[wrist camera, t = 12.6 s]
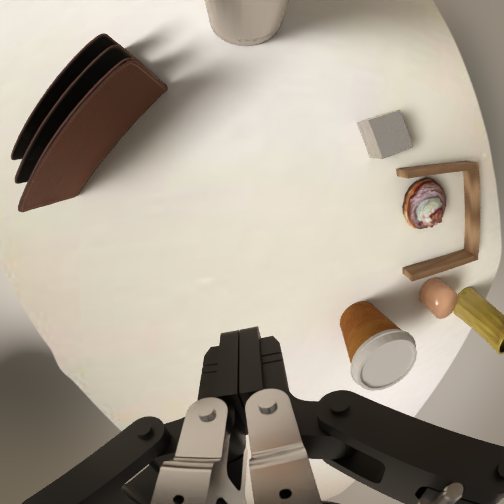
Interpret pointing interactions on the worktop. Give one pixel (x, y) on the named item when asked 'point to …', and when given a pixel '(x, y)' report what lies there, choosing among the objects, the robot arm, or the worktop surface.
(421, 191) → the pastry
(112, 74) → the letter holder
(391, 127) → the gray block
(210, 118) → the worktop surface
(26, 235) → the worktop surface
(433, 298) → the peach rounded blob
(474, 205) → the display bay
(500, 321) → the vase
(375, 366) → the disposable coffee cup
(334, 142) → the worktop surface
